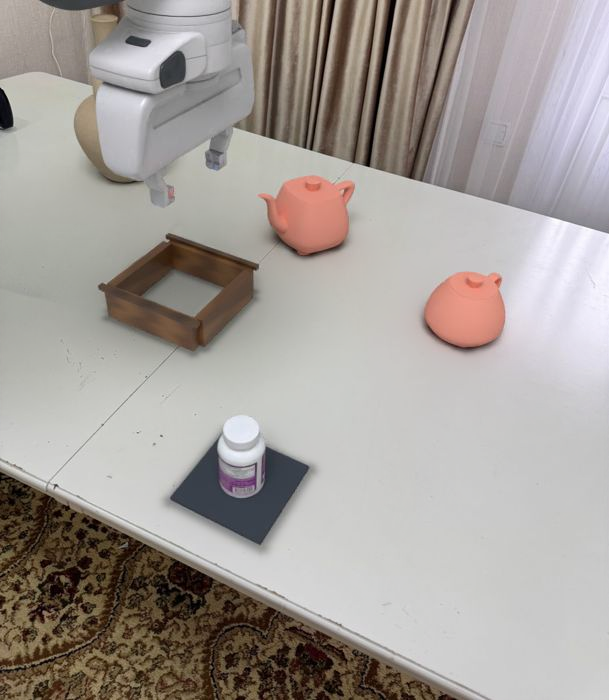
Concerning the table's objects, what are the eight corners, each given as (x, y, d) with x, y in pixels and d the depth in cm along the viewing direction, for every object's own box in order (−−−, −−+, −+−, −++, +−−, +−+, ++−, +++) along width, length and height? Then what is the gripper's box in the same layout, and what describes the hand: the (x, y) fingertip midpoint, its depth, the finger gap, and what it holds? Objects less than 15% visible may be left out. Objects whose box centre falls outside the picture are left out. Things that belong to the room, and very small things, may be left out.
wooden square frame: (103, 315, 96) (97, 285, 92) (171, 260, 108) (169, 232, 104) (197, 354, 90) (195, 324, 87) (258, 292, 102) (259, 264, 99)
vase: (97, 155, 135) (71, 1, 115) (173, 161, 135) (160, 9, 115) (72, 191, 123) (39, 26, 103) (157, 198, 123) (139, 34, 103)
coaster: (170, 499, 72) (169, 497, 71) (226, 430, 80) (226, 428, 80) (260, 545, 68) (260, 543, 68) (309, 468, 76) (309, 465, 76)
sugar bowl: (405, 323, 99) (417, 270, 92) (461, 293, 106) (476, 241, 99) (465, 366, 92) (483, 312, 85) (521, 330, 99) (541, 278, 92)
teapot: (240, 236, 115) (239, 175, 106) (329, 212, 123) (335, 154, 115) (276, 273, 107) (279, 210, 98) (369, 245, 115) (378, 184, 107)
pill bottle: (236, 456, 76) (236, 402, 70) (272, 475, 75) (275, 422, 68) (209, 486, 73) (206, 433, 66) (247, 508, 71) (247, 455, 65)
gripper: (216, 9, 62) (220, 141, 72) (72, 62, 49) (100, 218, 58) (270, 20, 61) (267, 155, 70) (137, 79, 47) (156, 237, 56)
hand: (191, 184), depth 64 cm, fingers open, 8 cm apart
